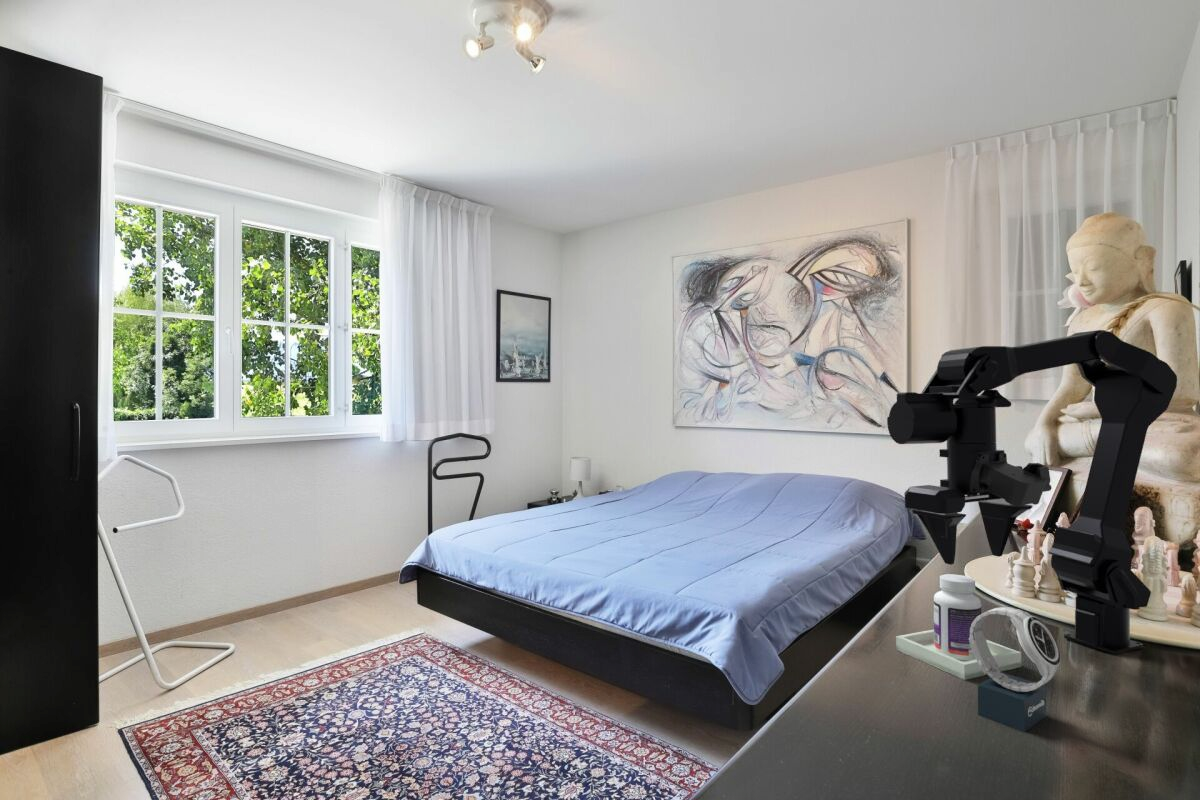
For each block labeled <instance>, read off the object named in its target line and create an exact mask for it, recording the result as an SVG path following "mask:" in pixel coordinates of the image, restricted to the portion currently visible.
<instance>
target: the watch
mask: <svg viewBox="0 0 1200 800" xmlns="http://www.w3.org/2000/svg"><path fill="white" fill-rule="evenodd" d="M990 615H1001V616H1007V617H1009V619H1010V621H1011V623H1012V624H1013V626H1014V627H1015V628H1016V635H1017V639H1018V642H1019V644H1020V646H1021V648H1022V650H1023V652H1024V653H1025V656H1027V657H1028V658H1029V659H1030V661H1031V662H1032V663H1033V664H1034V665H1036V667H1037V669H1038V672H1039V674H1040V676H1042V677H1041V679H1040V680H1039V681H1037V682H1034V681H1032V680H1031V681H1030V680H1027V679H1025V678H1021V677H1017V676H1015V675H1011V674H1008V673H1005V672H1003V671H1000V670H999V669H998V668H997V666H998V664H997V662H996V661H995V659H994V657H993V656H992V654H991V652H990V650H989V647H988V645H987V642H986V640H987V638H986V637H985V636H984V631H983V629H981V626H982V625H983V623H984V621H985V620H986V618H988V616H990ZM981 624H982V625H981ZM969 642H970V645H971V648H972V651H973V654H974V656H975V658H976V660H977V662H978V664H979V665H980V667H981V669H982V670H983V672H984V673H985V674H986V675H985V676H988V677H989V678H988V679H986V680H984V681H983V682H980V683H978V685H977V715H979V716H980V717H984V718H987V719H989V720H991V721H994V722H997V723H999V724H1002V725H1004V726H1008V727H1011V728H1014V729H1016V730H1019V731H1021V732H1026V731H1027V730H1029V729H1030V728H1032V726H1034V725H1035V724H1037V723H1039V722H1040V721H1041V720H1043V719H1044V718H1046V717H1047V686H1046V685H1045V684H1047V683H1048V682H1049V681H1051V679H1052V678H1053V677H1054V676H1055V675H1056V673H1057V671H1058V667H1059V665H1060V664H1061V652H1060V649H1059V646H1058V643H1057V640H1056V638H1055V637H1054V635H1053V633H1052V632H1051V630H1050V629H1049V627H1048V626H1047V625H1046V624H1045V623H1044V622H1043V621H1042V620H1041V619H1040V618H1038V617H1036V616H1034V615H1031V614H1029V613H1028V612H1027V611H1025V610H1024V611H1023V610H1022V609H1018V608H1015V607H1011V606H1010V607H1009V606H1001V607H995V608H992V609H989V610H987V611H985V612H981V615H979V616H977V617H976V618H975V620H974V621H973V622H972V624H971V627H970V637H969Z"/></svg>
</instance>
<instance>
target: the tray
mask: <svg viewBox="0 0 1200 800" xmlns="http://www.w3.org/2000/svg"><path fill="white" fill-rule="evenodd" d="M986 642H987V645H988V647H989V650H990V652H991V654H992V656H993V657H994V659H995V661H996V662H997V664H998V666H997V668H998V669H999V670H1000V671H1001V672H1006V671H1010V670H1014V669H1017V668H1021V667H1022V652H1021V651H1018V650H1015V649H1012V648H1010V647H1008V646H1004V645H1002V644H999V643H997V642H994V641H991V640H988V639H986ZM895 651H897V652H900V653H902V654H904V655H907V656H909V657H911V658H913V659H916V660H918V661H920V662H922V663H925V664H928V665H930V666H931V667H934V668H935V669H936V668H937V669H938V670H941V671H943V672H945V673H947V674H950V675H951V676H954V677H956V678H959V679H960V680H962V681H963V680H964V681H966V680H970V679H974V678H975V679H976V678H979V677H984V676H987V675H986V674H985V673H984V672H983V670H982V669H981V667H980V665H979V664H978V662H977V660H971V661H963V660H957V659H955V658H952V657H950V656H947V655H945V654H942V653H940V652H938V651H936V650H935V647H934V628H933V629H929V630H923V631H918V632H913V633H907V634H902V635H896V636H895Z"/></svg>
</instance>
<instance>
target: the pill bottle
mask: <svg viewBox="0 0 1200 800" xmlns="http://www.w3.org/2000/svg"><path fill="white" fill-rule="evenodd" d="M939 588H941V590H939V591H937V592H936V593H935V594H934V596H933V629H934V647H935V650H936V651H938V652H940V653H942V654H945V655H947V656H950V657H952V658H955V659H957V660H963V661H971V660H976V658H975V656H974V654H973V651H972V648H971V645H970V642H969V637H970V627H971V624H972V622H973V621H974V620H975V618H976V617H977V616H979V615H981V614H982V601H981V599H980V598H979V597H978V596H977V595H975V594H974V593H975V592H976V580H975V579H974V578H973V577H970V576H967V575H963V574H952V573H947V574H946V573H944V574H942V575H940V576H939ZM981 625H983V623H982V624H981ZM981 629H982V626H981ZM982 630H983V629H982Z"/></svg>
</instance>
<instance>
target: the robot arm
mask: <svg viewBox="0 0 1200 800" xmlns="http://www.w3.org/2000/svg"><path fill="white" fill-rule="evenodd" d="M1074 364H1075V365H1077V367H1078V371H1079V372H1080V375H1081V378H1082V379H1083V380H1085V381H1086V382H1088V383H1089V384H1090V385H1092V386H1093V388H1094V393H1093V402H1094V404H1095V406H1096V409H1097V411H1098V413H1099V415H1100V418H1101V423H1100V428H1099V431H1098V432H1099V433H1098V436H1097V439H1096V444H1095V448H1094V452H1093V456H1092V460H1091V464H1090V469H1089V472H1088V477H1087V480H1086V483H1085V487H1084V488H1085V489H1084V492H1083V497H1082V500H1081V504H1080V509H1079V513H1078V516H1077V519H1076V520H1075V521H1073V523H1071V524H1070V525H1069V526H1068V527H1064V526H1061V525H1058V526H1056V528H1055V530H1054V533H1053V541H1052V545H1051V547H1050V548H1049V550H1048V552H1047V553H1048V554H1049V555H1051V557H1050V559H1051V561H1050V566H1051V568H1052V569H1053V570H1054V572H1055V574H1056V577H1057V579H1058V583H1059V586H1060V588H1061V590H1062V591H1065V592H1070V593H1073V594H1075V595H1076V596H1075V609H1074V631H1073V632H1067V633H1064V634H1063V638H1064V639H1067V640H1068V641H1073V642H1076V643H1078V644H1082V645H1085V646H1087V647H1091V648H1094V649H1097V650H1100V651H1104V652H1106V653H1109V654H1114V655H1117V654H1121V653H1126V652H1130V651H1134V650H1138V649H1142V647H1143V648H1144V644H1143V643H1141V642H1139V641H1135V640H1132V639H1131V638H1130V637H1131V630H1130V629H1131V626H1130V625H1131V623H1130V621H1131V620H1130V618H1131V616H1130V615H1131V612H1130V609H1131V610H1139V609H1140V608H1147V606H1148V604H1149V601H1150V597H1151V593H1152V591H1151V590H1150V589H1149V588H1148V587H1147V586H1146V584H1145V583H1144V582H1143V581H1142V580H1141V579H1140V578H1139V577H1138V576H1137V575H1136V574H1135V573H1134V572H1133V570H1132V563H1133V550H1132V548H1131V546H1130V543H1129V540H1128V538H1127V536H1126V534H1125V531H1124V527H1125V523H1126V520H1127V519H1126V518H1127V514H1128V512H1129V506H1130V502H1131V499H1132V498H1131V497H1132V493H1133V490H1134V486H1135V483H1136V477H1137V473H1138V470H1139V465H1140V461H1141V456H1142V454H1143V448H1144V444H1145V441H1146V437H1147V433H1148V429H1149V427H1150V426H1151V425H1152V424H1153V423H1154V422H1155V421H1156V420H1157V419H1158V418H1159V417H1161V416H1162V415H1163V414H1164V412H1166V411H1167V410H1168V409H1169V405H1170V403H1171V401H1172V398H1173V397H1174V394H1175V392H1176V389H1177V385H1178V375H1177V374H1176V373H1175V371H1174V370H1173V369H1172V368H1171V366H1170V365H1169V364H1168V363H1167V362H1165V361H1164V360H1162V359H1160V358H1158V357H1157V356H1156V355H1154V354H1153V353H1152V352H1150V351H1148V350H1146V349H1143V348H1140V347H1138V346H1135V345H1134V344H1130V343H1128V342H1126V341H1124V340H1122V339H1121V338H1120V337H1118V336H1117V335H1116V334H1114V333H1113V332H1111V331H1108V330H1104V329H1097V330H1088V331H1084V332H1083V331H1081V332H1075V333H1073V334H1070V335H1068V336H1063V337H1058V338H1054V339H1053V338H1052V339H1048V340H1043V341H1036V342H1032V343H1028V344H1022V345H1016V346H1006V345H1005V346H1004V345H1003V346H1002V345H999V346H997V345H987V346H986V345H985V346H982V345H981V346H976V347H975V346H974V347H968V348H958V349H950V350H947V351H946V352H944V353H943V354H941V357H940V359H939V361H938V363H937V367H936V370H935V371H934V373H933V375H931V378H930V379H929V381H928V382H927V384H926V385H925V386H924V388H923V389H922V391H921V392H920V393H918V392H912V391H911V392H909V391H907V392H897V394H896V401H895V402H894V404H893V405H892V406H891V408H890V410H889V414H888V416H887V418H886V419H887V420H886V421H887V422H886V426H887V430H888V433H889V435H890V437H891V439H892V440H893V441H894V442H895V443H896V444H898V445H922V444H923V445H924V444H942V443H945V442H946V448H944V449H943V448H940V449H939V451H938V452H939V458H946V465H947V466H946V467H947V468H946V469H947V470H946V471H947V472H946V473H947V474H946V475H947V476H946V477H947V478H946V479H943V478H942V479H940V480H939V483H940V484H939V485H931V484H924V485H916V486H915V485H914V486H909V488H907V489H906V490H905V492H904V508H906V509H910V510H911V514H914V515H917V517H918V518H919V520H920V521H921V524H923V527H924V528H925V529H926V531H927V533H928V534H929V537H930V538H931V540H932V542H933V544H934V545H935V547H936V549H937V551H938V553H939V555H940V557H941V559H942V560H943V562H944V563H945V564H946V565H951V566H952V565H954V564H955V559H956V549H957V534H958V533H957V531H958V529H957V527H958V525H959V524H960V523H961V522H962V521H963V519H965V518H966V516H967V514H965V513H962V511H963V510H964V508H965V506H966V504H969V503H974V502H975V503H976V502H977V503H978V507H979V511H980V515H981V519H982V523H983V526H984V531H985V534H986V540H987V542H988V547H989V549H990V552H991V554H992V555H993V556H994V557H1002V556H1003V553H1004V551H1005V548H1006V545H1007V543H1008V540H1009V537H1010V534H1011V531H1012V529H1013V527H1014V524H1015V521H1016V520H1017V518H1018V517H1019V516H1021V515H1022V514H1023V513H1025V512H1027V511H1028V510H1031V509H1033V505H1035V506H1036V505H1039V503H1040V502H1041V501H1040V500H1041V498H1042V495H1043V493H1044V492H1050V491H1052V485H1051V484H1050V483H1051V476H1050V468H1049V466H1047V465H1045V464H1042V463H1039V462H1034V463H1032V462H1031V463H1028V464H1027V465H1025V467H1024V468H1023V466H1021V465H1016V466H1015V465H1013V464H1010V463H1008V461H1007V460H1008V457H1007V453H1006V452H1005V450H1004V449H998V448H997V422H996V420H997V419H996V418H997V417H996V414H997V413H996V408H1011V406H1012V402H1011V401H1010V400H1009V399H1008V398H1006V397H1005V396H1003V395H1002V394H1001V393H1000V392H999V390H997V388H998V387H1001V386H1003V385H1006V384H1009V383H1011V382H1013V380H1015V379H1016V378H1018V377H1020V376H1022V375H1024V374H1029V373H1034V372H1039V371H1043V370H1048V369H1054V368H1059V367H1063V366H1069V365H1074ZM955 399H956V401H955ZM954 401H955V402H954Z"/></svg>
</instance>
